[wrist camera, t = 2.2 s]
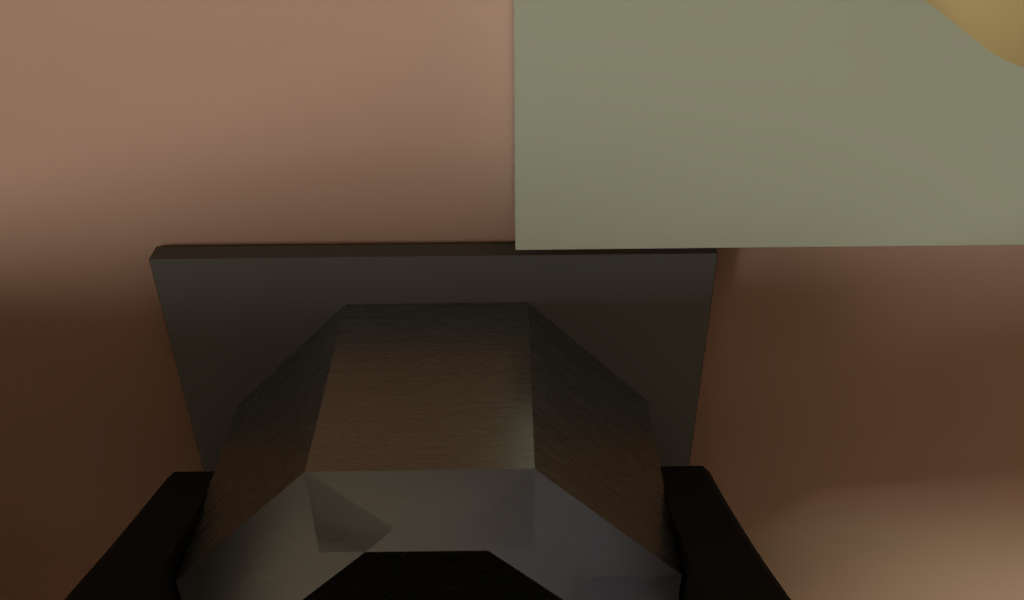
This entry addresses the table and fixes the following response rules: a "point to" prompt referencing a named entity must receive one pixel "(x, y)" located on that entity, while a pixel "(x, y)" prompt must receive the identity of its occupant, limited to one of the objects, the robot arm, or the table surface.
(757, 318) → the table surface
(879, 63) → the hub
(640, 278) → the mat
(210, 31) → the table surface
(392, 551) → the ring
